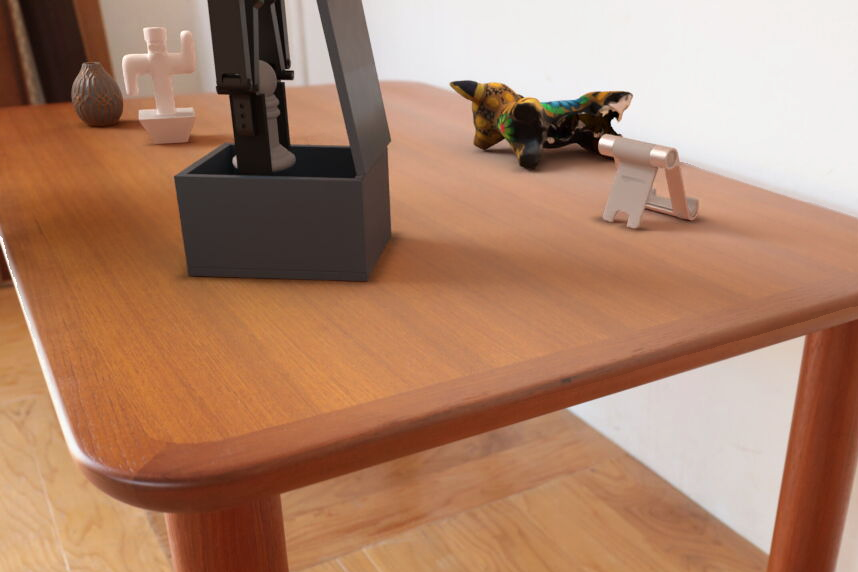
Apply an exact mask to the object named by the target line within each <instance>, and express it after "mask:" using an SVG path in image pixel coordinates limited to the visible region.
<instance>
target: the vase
mask: <svg viewBox="0 0 858 572" xmlns="http://www.w3.org/2000/svg"><path fill="white" fill-rule="evenodd" d="M70 96H71V103H72V106H73V109H74V111H75V113H76V115H77V117H78V118H79V119H80V120H81V121H82V122H83V123H84V124H86V125H87V126H89V127H108V126H112V125H113V126H114V125H116V124H117V123H118V121H119V120H120V119H121V117H122V116H123V112H124V97H123V93H122V90H121V88H120V86H119V84H118V83H117V81H116V80H115V79H114V78H113V76H112V75H110V74H109V73H108V71H106V70H105V68H104V67H103V66H102V63H101V62H99V61H89V62H88V61H87V62H82V64H81V68H80V70H79V73H77V76H76V77H75V79H74V81H73V83H72V87H71V95H70Z"/></svg>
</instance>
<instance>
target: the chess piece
mask: <svg viewBox="0 0 858 572" xmlns="http://www.w3.org/2000/svg"><path fill="white" fill-rule="evenodd" d="M236 75H239V74H236ZM259 85H260V91H259V94H265V102H266V112H267V122H268V132H269V142H270V152H271V162H272V172H277V171H282V170H286V169H289V168H291V167H292V166H293V165H294V164H295V161H296V158H295V155H294V154H292V153H291V152H290V151H288V150H287V149H286V148H284V147H283V146H282V145H281V144H279V137H278V127H277V117H278V116H279V115H280V110H279V109H278V108H277V106H278V104H279V100H278V99H277V98H276V96H275V95H274V94H273V93H274V91H275V89H276V86H277V78H276V74H275V72H274V70H273V68H272V67H271V66H270V65H269V64H268V63H266V62H264V61H261V60H259ZM233 165H234V167H236V168H237V160H236V156H235V157H234V158H233ZM237 169H238V168H237Z"/></svg>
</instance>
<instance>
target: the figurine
mask: <svg viewBox="0 0 858 572" xmlns="http://www.w3.org/2000/svg"><path fill="white" fill-rule="evenodd" d="M142 30H143V38H144V42H146V47H147V53H129V54H125V55H124V56H123V57H122V62H121V68H122V73H123V80H124V87H125V92H126V94H127V96H129V97H137V96H138V95H139V94H140V88H139V81H138V79H139V77H140V76H151V81H152V87H153V93H154V100H155V108H151V109H150V108H149V109H138V121H139V122H140V125H141V126H142V127H143V129H144V130H145V132H146V134H147V135H148V137H149V138H150V140H151V141H152V143H153V144H154V145H164V144H179V143H181V144H182V143H189V139H190V136H191V133H192V129H193V127H194V123H195V120H196V113H195V108H194V107H189V106H188V107H176V103H175V95H174V88H173V81H172V75H188V74H193V73H194V72H195V71H196V69H197V58H196V49H195V43H194V41H195V40H194V35H193V33H192V32H191V31H190V30H185V29H184V30H182V31H181V32H180V37H179V38H180V45H181V47H180V48H181V51H180V52H169V51H168V46H167V41H168V35H167V29H166V27H162V26H160V27H159V26H155V27H144V28H142Z"/></svg>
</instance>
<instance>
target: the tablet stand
mask: <svg viewBox="0 0 858 572" xmlns="http://www.w3.org/2000/svg"><path fill="white" fill-rule="evenodd" d="M598 149H599V152H600V153H601V154H600V155H602V156H605V155H607V156H611V157H614V158H613V160H614V165H615V167H616V172H615V176H614V179H613V182H612V185H611V188H610V192H609V195H608V198H607V200H606V204H605V207H604V211H603V213H602V219H603V220H604V221H606V222H609V223H613V222H614V220H615V218H616V216H617V214H618V213H619V212H622V213H624V214H627V215H628V219H627V223H626V227H627V228H630V229H632V230H633V229H634V230H637V229H638V228H639V227H640V225H641V223H642V219H643V216H644V213H645V210H646V209H647V210H650V211H654V212H657V213H663V214H666V215H670V216H674V217H677V218H678V219H682V220H687V221H688V220H689V221H694V220H695V219H696V218H697V216H698V215H699V211H700V199H699V198H696V197H692V196H688V195H686V188H685V183H684V177H683V174H682V173H683V172H682V167H681V162H680V157H679V152H678V150H677V148H675V147H671V146H667V145H661V144H656V143H651V142H647V141H641V140H638V139H632V138H627V137H624V136H623V137H619V136H614V135H610V134H604V135H603V136H602V137H601V138H600V140H599V144H598ZM659 169H663V170H664V174H665V179H666V182H667V188H668V194H669V198H667V197H664V196H660V195H658V194H657V188H656V187H653V186H654V183H655V180H656V177H657V173H658V171H659Z"/></svg>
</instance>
